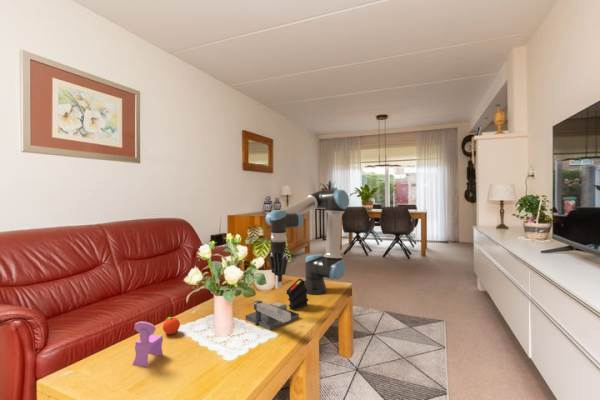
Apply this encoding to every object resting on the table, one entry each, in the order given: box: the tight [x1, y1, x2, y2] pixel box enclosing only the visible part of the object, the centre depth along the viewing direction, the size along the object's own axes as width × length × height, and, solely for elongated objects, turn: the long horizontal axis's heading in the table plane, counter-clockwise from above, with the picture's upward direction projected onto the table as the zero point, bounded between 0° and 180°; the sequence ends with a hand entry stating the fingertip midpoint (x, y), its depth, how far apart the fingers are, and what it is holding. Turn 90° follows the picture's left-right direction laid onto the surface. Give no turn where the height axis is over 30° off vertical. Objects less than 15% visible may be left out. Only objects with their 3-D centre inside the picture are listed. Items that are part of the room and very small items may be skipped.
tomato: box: [162, 316, 181, 335], centre depth 132 cm, size 8×7×7 cm
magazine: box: [286, 278, 309, 311], centre depth 163 cm, size 4×13×15 cm, turn 136°
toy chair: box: [132, 321, 164, 368], centre depth 111 cm, size 8×9×15 cm
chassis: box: [245, 301, 300, 331], centre depth 148 cm, size 20×18×7 cm
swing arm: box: [253, 300, 291, 323], centre depth 135 cm, size 22×4×3 cm, turn 44°
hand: (278, 287), depth 151 cm, fingers closed
